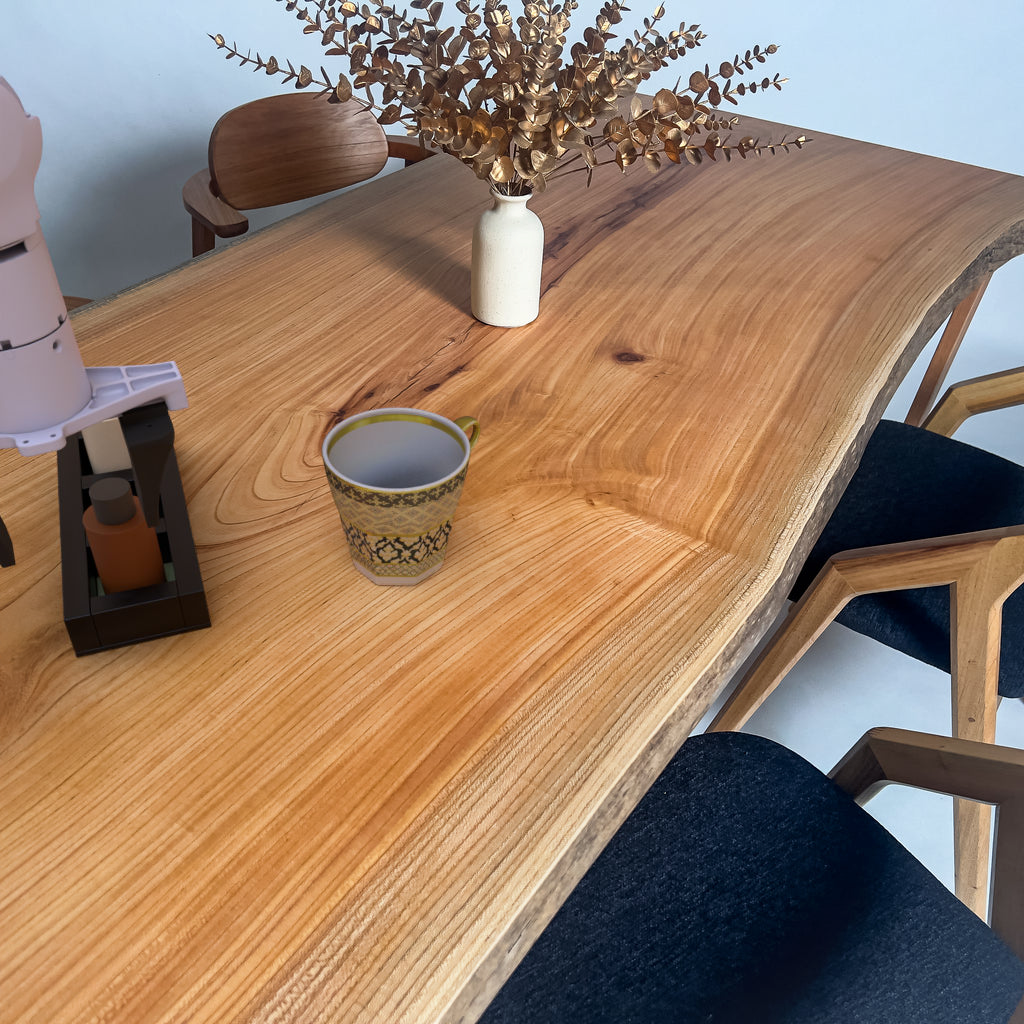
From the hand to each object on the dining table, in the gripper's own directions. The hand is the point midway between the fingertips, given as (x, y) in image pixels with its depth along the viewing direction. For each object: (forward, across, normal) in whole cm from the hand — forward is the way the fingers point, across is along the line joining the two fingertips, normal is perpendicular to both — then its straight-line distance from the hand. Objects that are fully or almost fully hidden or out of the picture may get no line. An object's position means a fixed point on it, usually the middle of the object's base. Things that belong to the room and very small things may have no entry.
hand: (81, 535), depth 52 cm
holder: (+11, +2, +12) cm, 16 cm away
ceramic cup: (+11, +21, +2) cm, 24 cm away
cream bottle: (+10, +3, +18) cm, 21 cm away
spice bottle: (+10, +2, +5) cm, 11 cm away
